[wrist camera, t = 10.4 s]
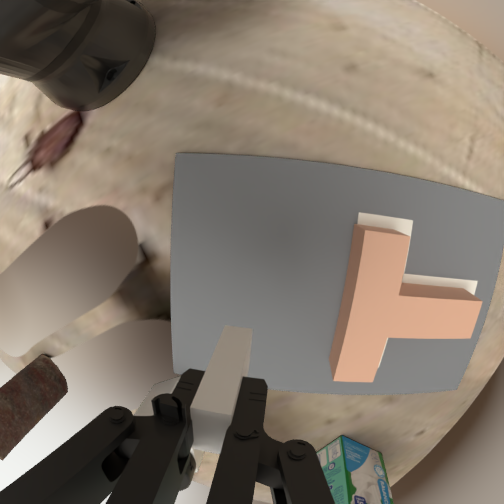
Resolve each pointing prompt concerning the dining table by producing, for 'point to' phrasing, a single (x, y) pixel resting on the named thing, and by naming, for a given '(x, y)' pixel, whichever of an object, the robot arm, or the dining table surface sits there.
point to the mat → (317, 265)
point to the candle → (28, 400)
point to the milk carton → (354, 473)
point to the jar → (147, 410)
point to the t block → (390, 305)
